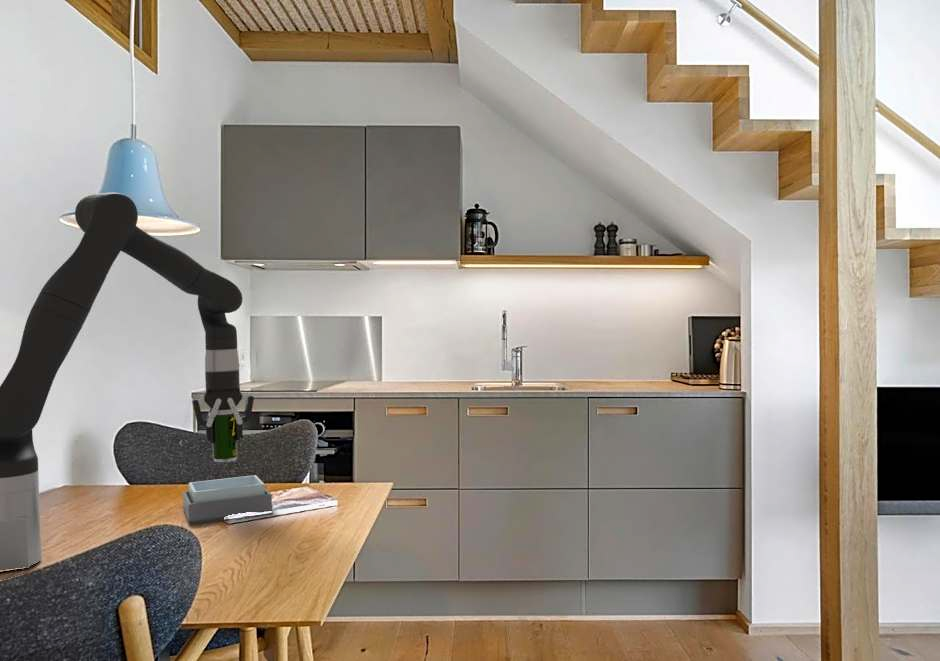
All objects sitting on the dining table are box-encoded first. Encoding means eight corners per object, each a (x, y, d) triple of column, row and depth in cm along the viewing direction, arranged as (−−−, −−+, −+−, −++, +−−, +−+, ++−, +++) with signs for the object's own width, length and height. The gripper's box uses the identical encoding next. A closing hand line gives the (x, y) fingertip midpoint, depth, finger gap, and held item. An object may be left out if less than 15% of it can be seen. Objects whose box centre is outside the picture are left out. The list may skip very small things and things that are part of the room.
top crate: (265, 509, 174) (264, 483, 174) (194, 519, 167) (193, 492, 167) (256, 499, 184) (255, 475, 184) (189, 507, 177) (188, 482, 177)
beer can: (212, 463, 172) (210, 410, 172) (213, 459, 177) (211, 408, 177) (237, 461, 173) (235, 409, 173) (237, 457, 179) (235, 407, 178)
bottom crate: (272, 513, 173) (271, 494, 173) (189, 525, 165) (188, 504, 165) (261, 500, 186) (260, 482, 186) (183, 510, 178) (182, 491, 178)
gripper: (251, 366, 181) (253, 436, 182) (187, 369, 175) (190, 442, 175) (256, 368, 174) (258, 440, 175) (191, 371, 168) (193, 446, 169)
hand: (224, 441), depth 175 cm, fingers closed on beer can, 5 cm apart
